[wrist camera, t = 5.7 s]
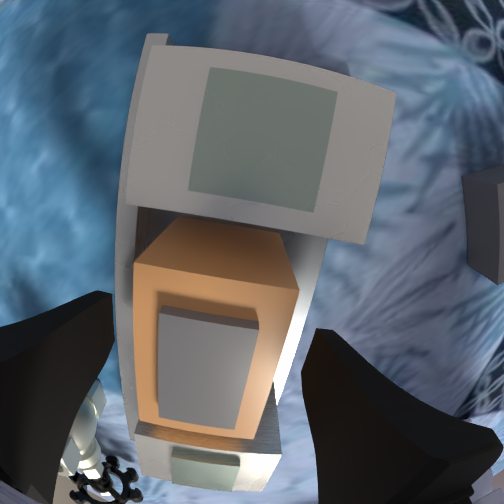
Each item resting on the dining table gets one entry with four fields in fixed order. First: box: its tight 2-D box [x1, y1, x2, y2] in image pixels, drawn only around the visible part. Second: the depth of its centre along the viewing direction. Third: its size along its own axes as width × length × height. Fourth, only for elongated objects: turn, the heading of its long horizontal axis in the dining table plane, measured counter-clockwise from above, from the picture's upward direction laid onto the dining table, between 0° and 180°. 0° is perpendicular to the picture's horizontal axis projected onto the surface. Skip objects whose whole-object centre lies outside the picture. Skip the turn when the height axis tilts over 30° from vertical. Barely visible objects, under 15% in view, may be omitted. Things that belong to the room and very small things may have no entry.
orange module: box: [133, 216, 300, 439], centre depth 10 cm, size 4×6×5 cm, turn 170°
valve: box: [58, 379, 143, 504], centre depth 14 cm, size 7×7×12 cm
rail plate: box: [115, 33, 396, 492], centre depth 11 cm, size 8×20×6 cm, turn 170°
